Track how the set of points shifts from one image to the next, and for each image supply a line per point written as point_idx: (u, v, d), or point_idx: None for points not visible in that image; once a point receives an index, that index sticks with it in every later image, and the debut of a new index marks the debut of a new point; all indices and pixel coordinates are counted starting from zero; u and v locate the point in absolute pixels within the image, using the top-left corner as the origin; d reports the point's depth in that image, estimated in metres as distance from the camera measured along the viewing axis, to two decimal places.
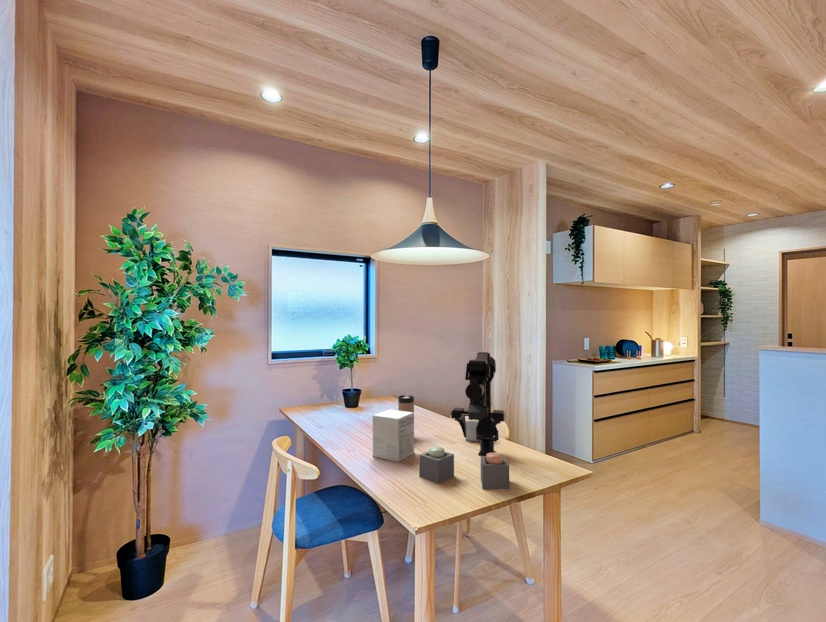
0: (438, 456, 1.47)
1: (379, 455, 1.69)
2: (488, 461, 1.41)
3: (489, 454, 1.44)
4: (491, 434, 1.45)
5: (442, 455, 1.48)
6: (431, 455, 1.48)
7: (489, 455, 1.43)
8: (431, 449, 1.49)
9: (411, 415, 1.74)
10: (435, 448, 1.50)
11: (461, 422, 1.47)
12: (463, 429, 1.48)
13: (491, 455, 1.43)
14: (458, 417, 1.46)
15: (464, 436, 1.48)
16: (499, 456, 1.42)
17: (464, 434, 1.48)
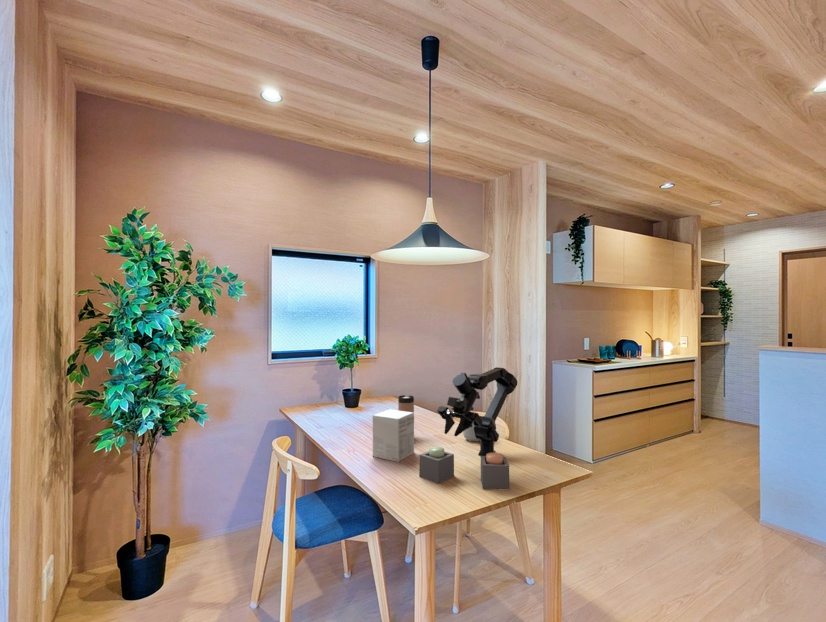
0: (438, 456, 1.47)
1: (379, 455, 1.69)
2: (488, 461, 1.41)
3: (489, 454, 1.44)
4: (456, 430, 1.54)
5: (442, 455, 1.48)
6: (431, 455, 1.48)
7: (489, 455, 1.43)
8: (431, 449, 1.49)
9: (411, 415, 1.74)
10: (435, 448, 1.50)
11: (447, 417, 1.60)
12: (446, 424, 1.59)
13: (491, 455, 1.43)
14: (442, 410, 1.63)
15: None
16: (499, 456, 1.42)
17: (445, 429, 1.58)
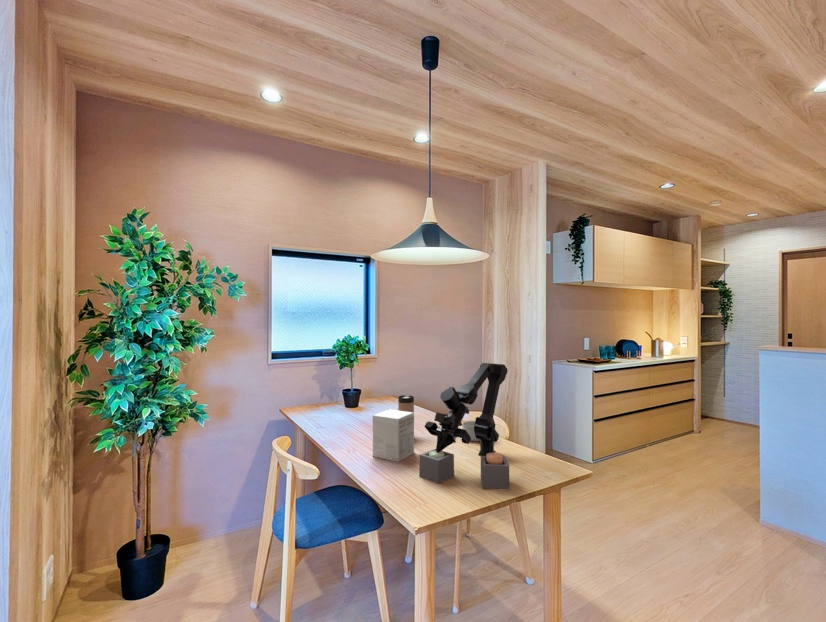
0: None
1: (379, 455, 1.69)
2: (488, 461, 1.41)
3: (489, 454, 1.44)
4: (439, 446, 1.50)
5: None
6: None
7: (489, 455, 1.43)
8: (431, 453, 1.49)
9: (411, 415, 1.74)
10: (435, 452, 1.50)
11: (439, 434, 1.53)
12: (438, 442, 1.52)
13: (491, 455, 1.43)
14: (429, 425, 1.57)
15: None
16: (499, 456, 1.42)
17: (436, 447, 1.51)
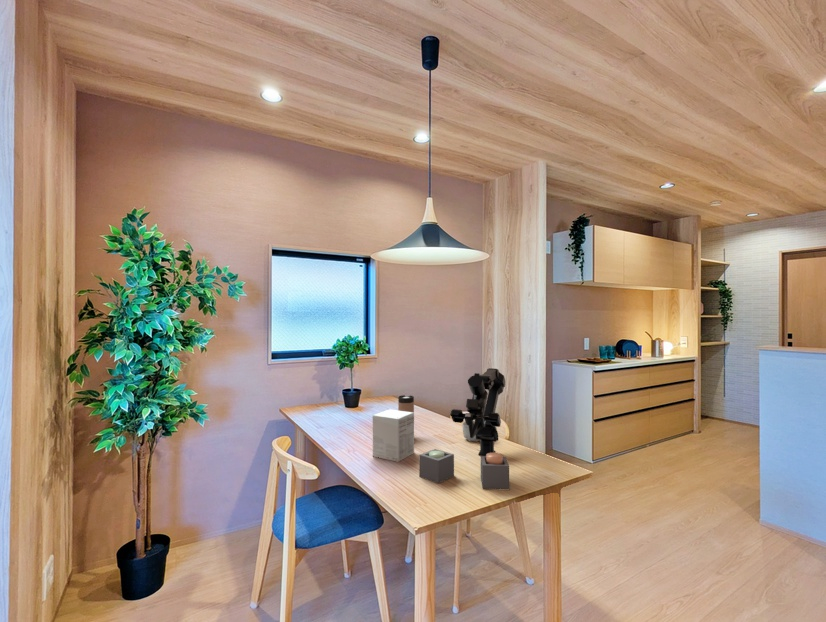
0: None
1: (379, 455, 1.69)
2: (488, 461, 1.41)
3: (489, 454, 1.44)
4: (473, 431, 1.52)
5: None
6: None
7: (489, 455, 1.43)
8: (431, 453, 1.49)
9: (411, 415, 1.74)
10: (435, 452, 1.50)
11: (469, 420, 1.55)
12: (470, 428, 1.54)
13: (491, 455, 1.43)
14: (457, 413, 1.58)
15: (470, 435, 1.52)
16: (499, 456, 1.42)
17: (470, 433, 1.52)
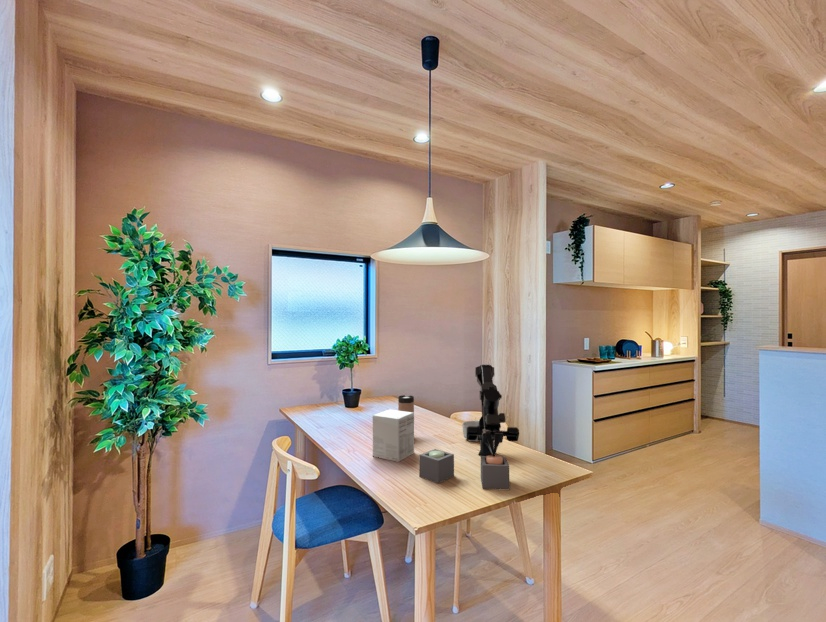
0: None
1: (379, 455, 1.69)
2: (488, 463, 1.41)
3: (489, 456, 1.44)
4: (495, 449, 1.45)
5: None
6: None
7: (489, 457, 1.43)
8: (431, 453, 1.49)
9: (411, 415, 1.74)
10: (435, 452, 1.50)
11: (489, 437, 1.47)
12: (491, 445, 1.46)
13: (491, 457, 1.43)
14: (474, 430, 1.48)
15: (492, 453, 1.44)
16: (499, 458, 1.42)
17: (492, 451, 1.44)
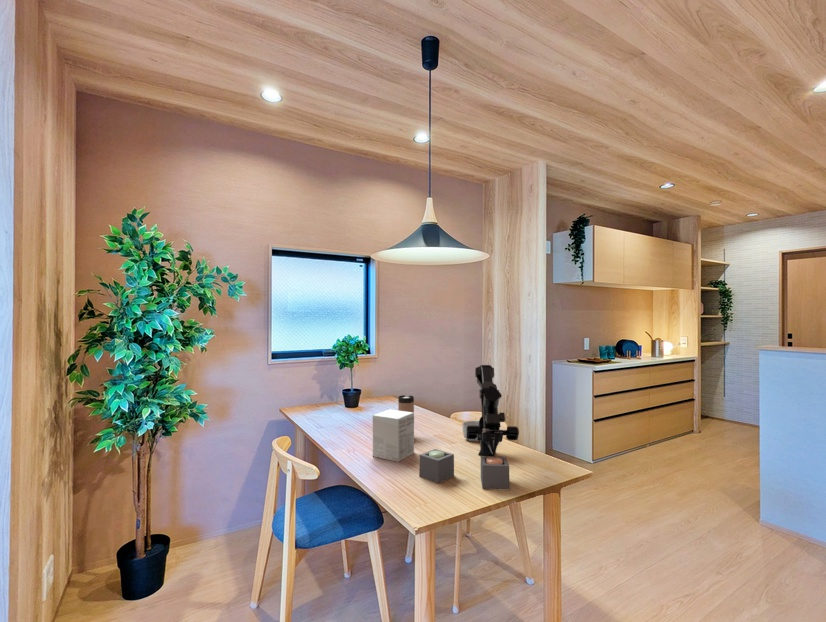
0: None
1: (379, 455, 1.69)
2: None
3: (489, 458, 1.44)
4: (494, 448, 1.46)
5: None
6: None
7: (489, 459, 1.43)
8: (431, 453, 1.49)
9: (411, 415, 1.74)
10: (435, 452, 1.50)
11: (489, 436, 1.48)
12: (491, 444, 1.46)
13: (491, 459, 1.43)
14: (474, 429, 1.49)
15: (492, 452, 1.45)
16: (499, 460, 1.42)
17: (492, 450, 1.45)
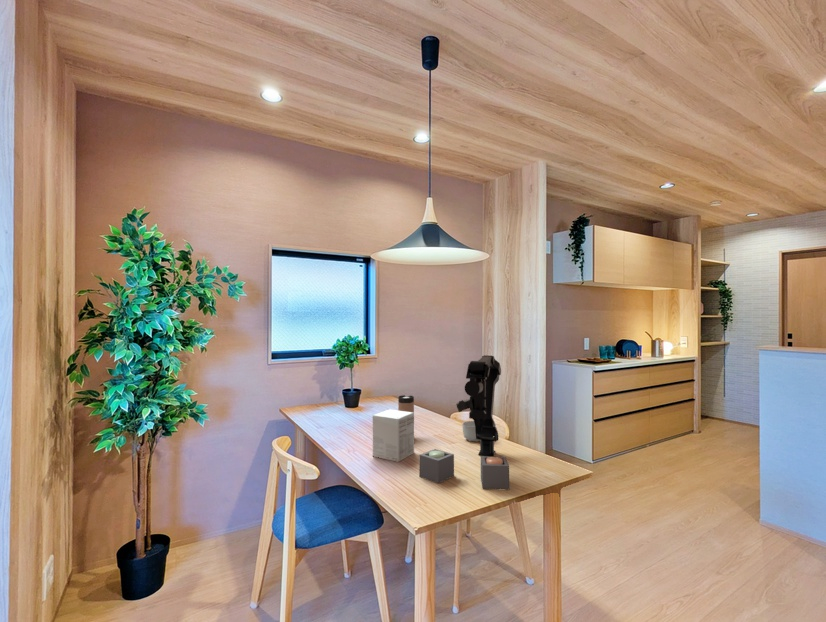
0: None
1: (379, 455, 1.69)
2: None
3: (489, 458, 1.44)
4: (475, 428, 1.59)
5: None
6: None
7: (489, 459, 1.43)
8: (431, 453, 1.49)
9: (411, 415, 1.74)
10: (435, 452, 1.50)
11: None
12: None
13: (491, 459, 1.43)
14: None
15: (476, 432, 1.59)
16: (499, 460, 1.42)
17: (476, 430, 1.60)
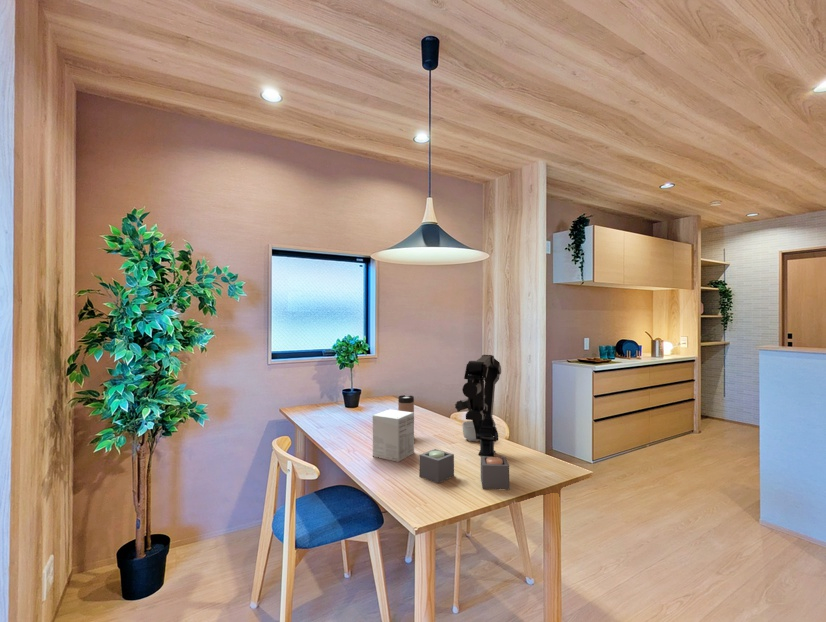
0: None
1: (379, 455, 1.69)
2: None
3: (489, 458, 1.44)
4: None
5: None
6: None
7: (489, 459, 1.43)
8: (431, 453, 1.49)
9: (411, 415, 1.74)
10: (435, 452, 1.50)
11: None
12: None
13: (491, 459, 1.43)
14: None
15: (475, 431, 1.60)
16: (499, 460, 1.42)
17: None
